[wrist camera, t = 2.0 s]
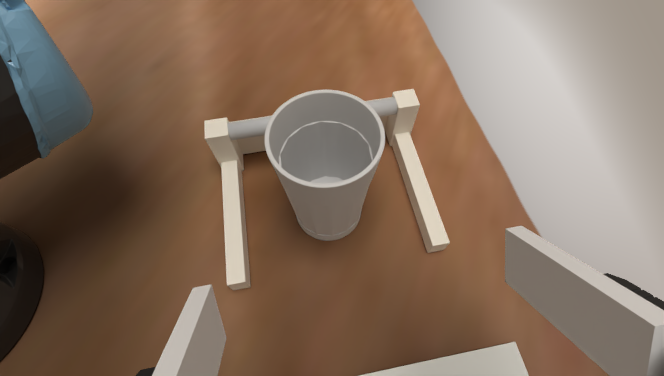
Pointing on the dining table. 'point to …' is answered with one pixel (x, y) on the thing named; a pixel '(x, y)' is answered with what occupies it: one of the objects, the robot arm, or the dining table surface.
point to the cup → (325, 158)
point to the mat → (466, 364)
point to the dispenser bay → (249, 138)
